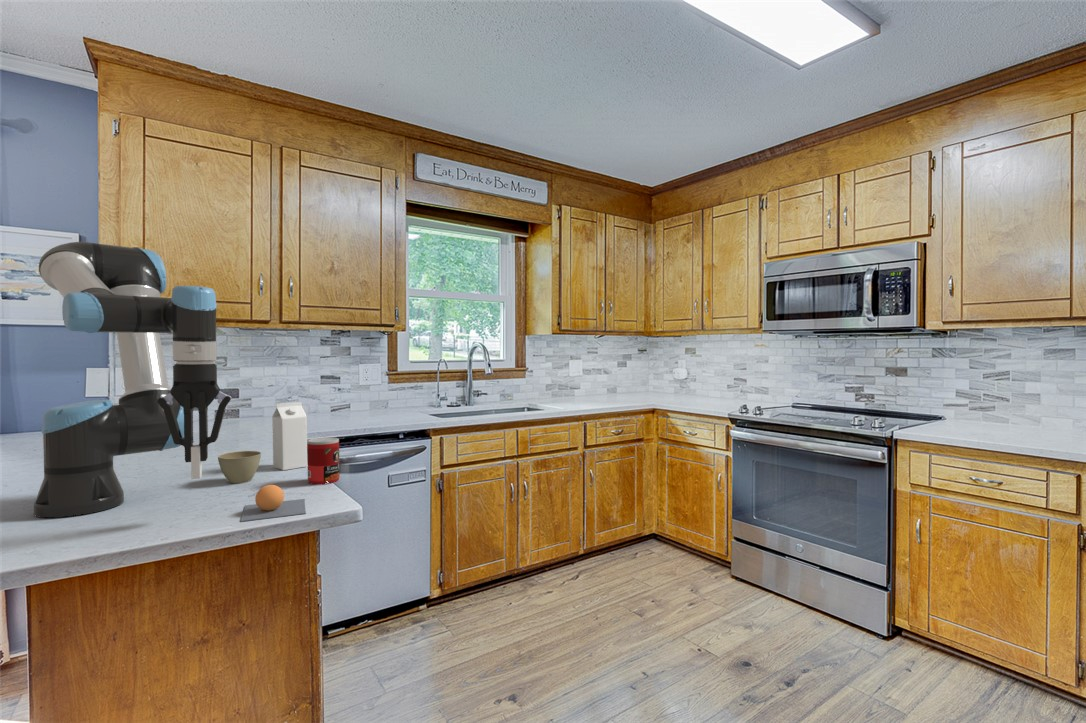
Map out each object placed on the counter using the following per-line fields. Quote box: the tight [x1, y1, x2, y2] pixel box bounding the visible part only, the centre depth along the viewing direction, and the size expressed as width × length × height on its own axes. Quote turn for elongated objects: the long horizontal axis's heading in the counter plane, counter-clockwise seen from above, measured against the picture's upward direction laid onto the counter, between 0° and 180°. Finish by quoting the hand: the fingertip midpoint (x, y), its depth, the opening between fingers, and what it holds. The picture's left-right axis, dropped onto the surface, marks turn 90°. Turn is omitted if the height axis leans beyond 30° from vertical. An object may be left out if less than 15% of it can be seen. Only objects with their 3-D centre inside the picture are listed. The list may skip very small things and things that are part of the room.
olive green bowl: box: [217, 450, 262, 484], centre depth 143 cm, size 10×10×7 cm
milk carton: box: [271, 401, 308, 471], centre depth 160 cm, size 7×7×19 cm
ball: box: [254, 484, 285, 511], centre depth 117 cm, size 6×6×6 cm
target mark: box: [240, 498, 307, 523], centre depth 117 cm, size 12×12×1 cm
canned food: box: [307, 436, 341, 485], centre depth 143 cm, size 8×8×11 cm
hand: (196, 477), depth 112 cm, fingers closed
